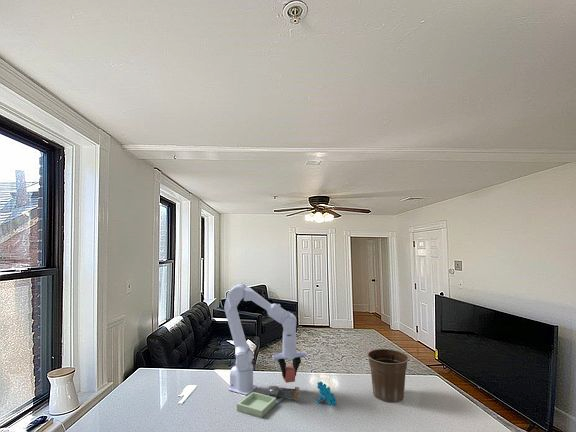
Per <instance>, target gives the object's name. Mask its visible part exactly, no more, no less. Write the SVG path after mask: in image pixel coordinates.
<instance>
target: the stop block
mask: <svg viewBox="0 0 576 432" xmlns="http://www.w3.org/2000/svg"><path fill="white" fill-rule="evenodd" d="M282 379H283V380H284V382H285V383H293V382H294V383H295V382H296V376H295V369H294V367H293V365H286V369H285V378H283V377H282Z"/></svg>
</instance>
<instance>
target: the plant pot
mask: <svg viewBox="0 0 576 432" xmlns="http://www.w3.org/2000/svg"><path fill="white" fill-rule="evenodd" d="M366 354H367V358H368V362H369V366H370V372H371V384H372V385H371V386H372V393H373V396H374V398H377V399H378V400H380V401H382V402H383V401H386V402H387V403H398V402H401V401H403V399H404V397H405V383H406V370H407V369H408V361H409V360H410V359H409V356H408V355H407V354H406V353H405V352H404V353H403V352H401V351H398V350H395V349H390V348H377V349H371V350H370V351H368V352H367V353H366Z"/></svg>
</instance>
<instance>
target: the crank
mask: <svg viewBox="0 0 576 432" xmlns="http://www.w3.org/2000/svg"><path fill="white" fill-rule="evenodd" d="M268 394H269V396H271V397H275V398H276V399H279V398H283V399H293V401H295V402H298V401H299V398H300V387H299V386H294V388H287V387H279V386H277V385H273V386H272V385H271V386H269V387H268Z"/></svg>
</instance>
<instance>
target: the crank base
mask: <svg viewBox="0 0 576 432" xmlns="http://www.w3.org/2000/svg"><path fill="white" fill-rule="evenodd" d="M267 396H269V393H268V394H267ZM282 400H284V398H279V399H276V405H278V404H279V403H280V402H281V401H282Z"/></svg>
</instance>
